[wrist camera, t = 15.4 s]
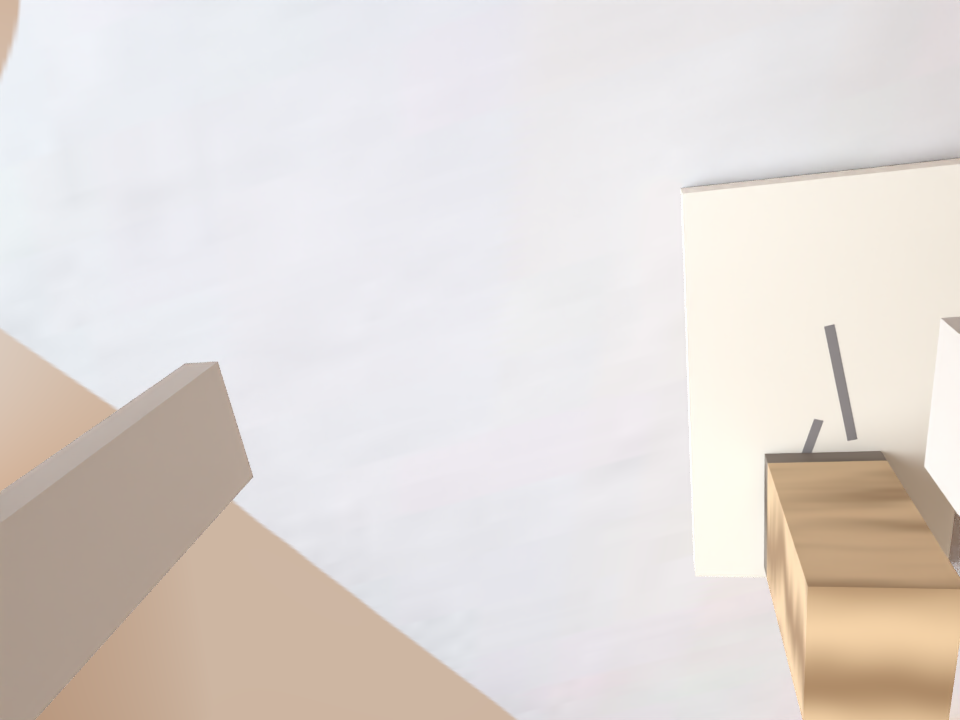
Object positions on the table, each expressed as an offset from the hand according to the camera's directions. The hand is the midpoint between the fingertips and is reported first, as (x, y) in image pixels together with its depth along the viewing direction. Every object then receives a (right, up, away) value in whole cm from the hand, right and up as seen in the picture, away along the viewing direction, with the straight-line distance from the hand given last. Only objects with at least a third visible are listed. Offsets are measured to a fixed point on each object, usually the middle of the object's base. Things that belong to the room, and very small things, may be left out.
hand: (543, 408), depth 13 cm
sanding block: (+19, -8, +27) cm, 34 cm away
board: (+18, -1, +26) cm, 32 cm away
